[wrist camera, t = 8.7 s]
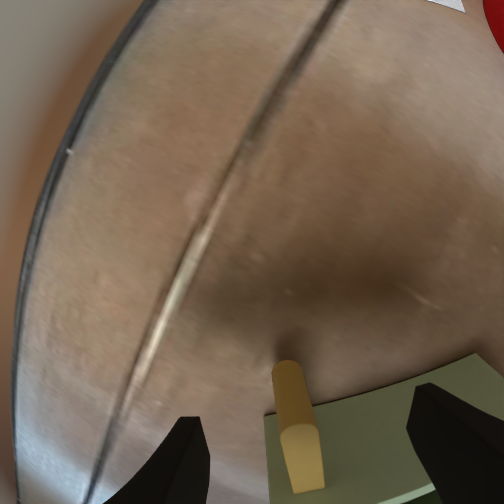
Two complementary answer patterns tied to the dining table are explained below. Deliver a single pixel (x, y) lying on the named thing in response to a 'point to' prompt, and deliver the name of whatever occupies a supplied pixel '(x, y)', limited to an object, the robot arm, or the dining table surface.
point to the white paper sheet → (451, 4)
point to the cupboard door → (360, 436)
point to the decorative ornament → (496, 19)
